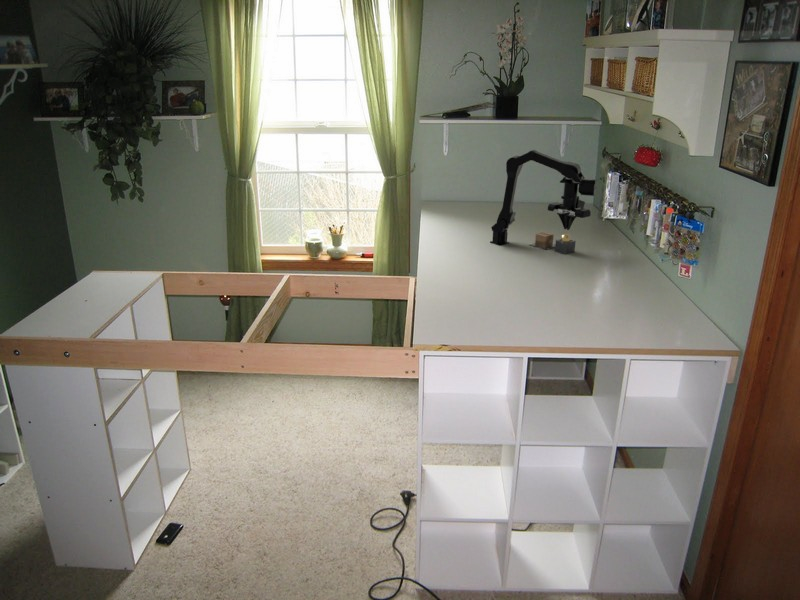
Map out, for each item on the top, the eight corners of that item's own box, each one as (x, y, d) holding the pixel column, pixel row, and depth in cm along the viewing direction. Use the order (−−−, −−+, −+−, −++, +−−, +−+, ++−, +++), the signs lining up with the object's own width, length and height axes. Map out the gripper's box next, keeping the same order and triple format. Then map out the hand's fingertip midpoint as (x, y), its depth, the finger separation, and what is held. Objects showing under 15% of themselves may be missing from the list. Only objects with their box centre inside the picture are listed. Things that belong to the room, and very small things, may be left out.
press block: (565, 254, 280) (567, 243, 279) (554, 251, 285) (555, 240, 283) (574, 251, 284) (575, 240, 282) (563, 248, 288) (564, 238, 286)
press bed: (545, 249, 287) (545, 249, 287) (529, 245, 293) (529, 244, 293) (558, 246, 292) (558, 245, 292) (542, 242, 299) (542, 241, 298)
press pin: (565, 247, 281) (567, 236, 279) (559, 245, 284) (560, 234, 282) (571, 246, 283) (572, 235, 281) (564, 244, 286) (565, 233, 284)
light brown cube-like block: (544, 247, 289) (545, 236, 287) (535, 244, 293) (535, 234, 291) (552, 245, 292) (553, 234, 290) (542, 242, 296) (543, 232, 294)
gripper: (600, 194, 273) (596, 230, 279) (564, 188, 287) (561, 222, 292) (584, 198, 267) (580, 235, 272) (548, 191, 280) (545, 226, 286)
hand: (566, 229), depth 281 cm, fingers closed
